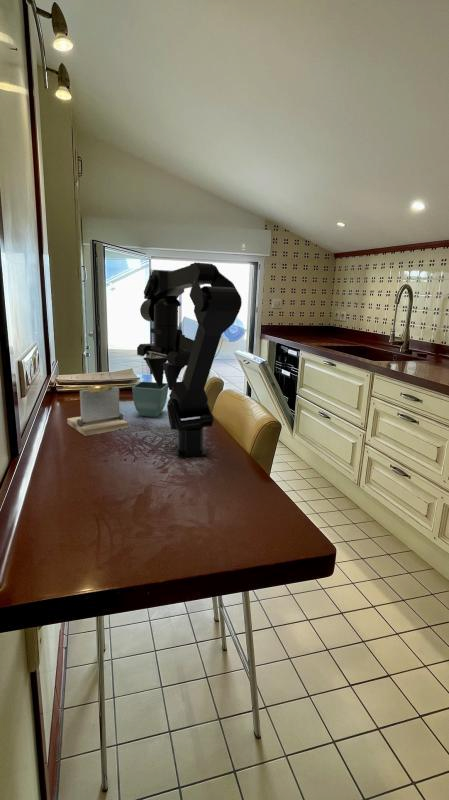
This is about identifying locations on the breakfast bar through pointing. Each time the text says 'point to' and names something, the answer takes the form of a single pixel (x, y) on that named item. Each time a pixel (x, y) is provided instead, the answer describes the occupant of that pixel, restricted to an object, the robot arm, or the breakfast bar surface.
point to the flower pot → (149, 398)
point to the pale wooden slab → (97, 425)
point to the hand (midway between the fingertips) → (165, 387)
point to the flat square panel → (99, 404)
